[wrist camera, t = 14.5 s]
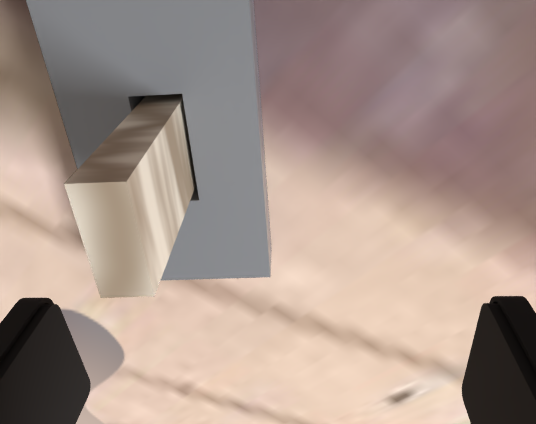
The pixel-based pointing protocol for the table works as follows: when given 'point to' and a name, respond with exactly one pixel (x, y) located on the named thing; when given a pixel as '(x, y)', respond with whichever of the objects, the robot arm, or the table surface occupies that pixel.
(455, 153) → the table surface
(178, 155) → the pine slat
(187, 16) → the grey slotted tile
